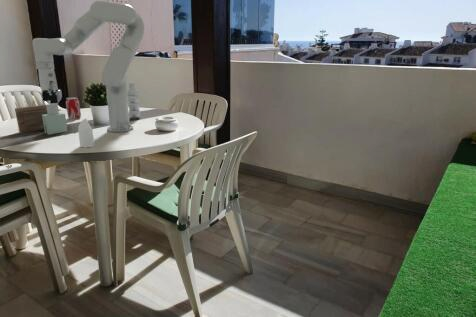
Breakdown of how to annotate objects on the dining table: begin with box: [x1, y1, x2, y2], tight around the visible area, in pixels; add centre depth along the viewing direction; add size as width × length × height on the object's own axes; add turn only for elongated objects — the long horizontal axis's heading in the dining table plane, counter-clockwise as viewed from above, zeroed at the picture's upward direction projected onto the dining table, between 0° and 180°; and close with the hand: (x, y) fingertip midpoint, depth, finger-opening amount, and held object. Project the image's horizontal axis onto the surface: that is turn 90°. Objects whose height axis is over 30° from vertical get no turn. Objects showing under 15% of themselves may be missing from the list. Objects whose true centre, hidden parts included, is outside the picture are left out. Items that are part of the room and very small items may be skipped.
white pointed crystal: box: [77, 118, 95, 149], centre depth 151 cm, size 6×12×6 cm
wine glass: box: [47, 88, 63, 105], centre depth 218 cm, size 8×8×15 cm
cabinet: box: [42, 103, 68, 135], centre depth 174 cm, size 5×9×14 cm, turn 136°
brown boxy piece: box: [14, 104, 47, 134], centre depth 180 cm, size 11×16×12 cm
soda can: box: [65, 96, 82, 120], centre depth 206 cm, size 7×7×12 cm
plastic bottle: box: [127, 83, 141, 120], centre depth 205 cm, size 6×7×20 cm
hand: (50, 102), depth 172 cm, fingers open, 9 cm apart
